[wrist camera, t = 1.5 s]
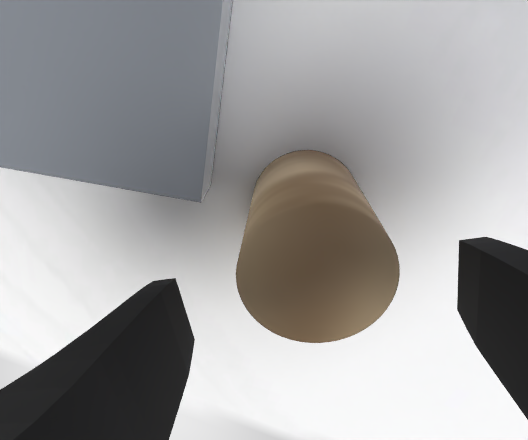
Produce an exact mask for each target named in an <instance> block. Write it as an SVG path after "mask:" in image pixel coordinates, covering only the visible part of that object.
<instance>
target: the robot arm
mask: <svg viewBox="0 0 528 440" xmlns="http://www.w3.org/2000/svg"><path fill="white" fill-rule="evenodd" d="M457 310H458V312H459V314H460V316H461V318H462V320H463V322H464V324H465V326H466V328H467V330H468V332H469V334H470V336H471V337H472V339H473V341H474V343H475V345H476V346H477V348H478V349H479V351H480V352H481V354H482V355H483V357H484V358H485V360H486V361H487V363H488V364H489V365H490V367H491V368H492V370H493V371H494V373H495V374H496V375H497V377H498V378H499V380H500V381H501V383H502V384H503V385H504V387H505V388H506V390H507V391H508V392H509V394H510V395H511V397H512V398H513V400H514V401H515V402H516V404H517V405H518V407H519V408H520V409H521V411H522V412H523V414H524V415H525V416H526V418H527V419H528V250H526V249H523V248H520V247H517V246H514V245H511V244H508V243H505V242H502V241H499V240H496V239H492V238H488V237H481V238H474V239H466V240H459V267H458V303H457ZM194 340H195V339H194V336H193V333H192V330H191V326H190V323H189V320H188V317H187V314H186V310H185V307H184V304H183V301H182V298H181V294H180V291H179V288H178V285H177V282H176V278H173V279H165V280H158V281H153V282H151V283H150V284H148V285H146V286H145V287H144V288H142V289H141V290H139V291H138V292H137V293H135V294H134V295H133V296H131V297H130V298H129V299H128V300H126V301H125V302H124V303H122V304H121V305H120V306H119V307H117V308H116V309H115V310H113V311H112V312H111V313H110V314H108V315H107V316H106V317H104V318H103V319H102V320H101V321H99V322H98V323H97V324H95V325H94V326H93V327H92V328H90V329H89V330H88V331H86V332H85V333H83V334H82V335H81V336H79V337H78V338H77V339H75V340H74V341H72V342H71V343H70V344H68V345H67V346H66V347H64V348H63V349H61V350H60V351H59V352H57V353H56V354H55V355H53V356H52V357H50V358H49V359H47V360H46V361H44V362H43V363H42V364H40V365H39V366H37V367H35V368H34V369H32V370H31V371H29V372H28V373H26V374H25V375H23V376H21V377H20V378H18V379H17V380H15V381H14V382H12V383H10V384H9V385H7V386H6V387H4V388H3V389H1V390H0V440H169V437H170V434H171V431H172V428H173V424H174V421H175V418H176V415H177V412H178V409H179V405H180V402H181V399H182V396H183V392H184V389H185V386H186V382H187V379H188V375H189V370H190V365H191V360H192V353H193V347H194Z"/></svg>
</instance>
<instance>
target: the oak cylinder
mask: <svg viewBox="0 0 528 440" xmlns="http://www.w3.org/2000/svg"><path fill="white" fill-rule="evenodd" d="M399 275H400V274H399V261H398V256H397V253H396V250H395V247H394V245H393V243H392V241H391V240H390V238H389V236H388V234H387V233H386V231H385V229H384V228H383V226H382V224H381V223H380V221H379V220H378V218H377V216H376V215H375V213H374V211H373V210H372V208H371V206H370V205H369V203H368V201H367V200H366V198H365V196H364V195H363V193H362V191H361V190H360V188H359V186H358V185H357V183H356V181H355V180H354V178H353V176H352V175H351V173H350V172H349V170H348V169H347V168H346V167H345V166H344V165H343V164H342V163H341V162H340V161H339V160H337V159H336V158H334V157H332V156H331V155H328V154H326V153H323V152H319V151H313V150H300V151H294V152H291V153H287V154H285V155H283V156H281V157H279V158H277V159H276V160H274V161H273V162H272V163H270V164H269V165H268V166H267V167H266V168H265V169H264V171H263V172H262V173H261V175H260V176H259V178H258V180H257V182H256V185H255V188H254V192H253V197H252V201H251V205H250V210H249V214H248V218H247V223H246V227H245V232H244V236H243V240H242V245H241V249H240V253H239V258H238V262H237V268H236V282H237V288H238V292H239V295H240V297H241V300H242V302H243V304H244V305H245V307H246V309H247V310H248V311H249V313H250V314H251V315H252V316H253V317H254V319H255V320H256V321H257V322H259V323H260V324H261V325H262V326H264V327H265V328H266V329H268V330H270V331H271V332H273V333H275V334H277V335H279V336H282V337H285V338H288V339H291V340H295V341H300V342H308V343H323V342H331V341H337V340H341V339H344V338H347V337H350V336H352V335H355V334H357V333H359V332H361V331H362V330H364V329H366V328H367V327H369V326H370V325H371V324H373V323H374V322H375V321H376V320H377V319H378V318H379V317H380V316H381V315H382V314H383V313H384V312H385V311H386V309H387V308H388V306H389V305H390V303H391V302H392V300H393V297H394V295H395V293H396V290H397V286H398V282H399Z"/></svg>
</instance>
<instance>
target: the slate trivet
mask: <svg viewBox="0 0 528 440" xmlns="http://www.w3.org/2000/svg"><path fill="white" fill-rule="evenodd" d="M232 1H233V0H0V167H2V168H8V169H14V170H19V171H25V172H31V173H36V174H42V175H48V176H53V177H59V178H65V179H70V180H76V181H82V182H88V183H93V184H99V185H105V186H110V187H116V188H122V189H127V190H133V191H139V192H144V193H150V194H156V195H161V196H167V197H173V198H178V199H184V200H190V201H196V202H202V200H203V198H204V196H205V195H206V193H207V191H208V190H209V188H210V186H211V180H212V171H213V163H214V154H215V146H216V137H217V129H218V120H219V112H220V103H221V95H222V86H223V78H224V69H225V61H226V52H227V44H228V35H229V27H230V18H231V10H232Z"/></svg>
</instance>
